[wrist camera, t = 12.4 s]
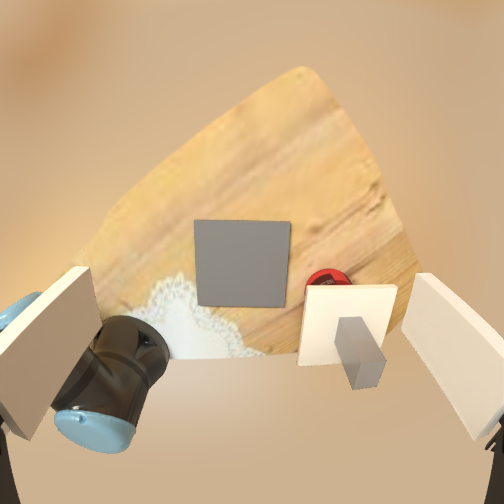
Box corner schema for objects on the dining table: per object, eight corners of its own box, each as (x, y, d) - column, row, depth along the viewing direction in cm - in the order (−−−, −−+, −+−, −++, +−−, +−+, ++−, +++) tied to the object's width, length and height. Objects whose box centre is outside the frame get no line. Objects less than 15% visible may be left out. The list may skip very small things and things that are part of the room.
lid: (296, 361, 39) (307, 415, 30) (306, 285, 35) (325, 334, 25) (374, 356, 39) (398, 403, 30) (394, 284, 35) (431, 325, 26)
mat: (198, 302, 48) (197, 305, 47) (194, 219, 43) (193, 221, 42) (283, 304, 48) (284, 307, 47) (289, 221, 43) (290, 222, 43)
